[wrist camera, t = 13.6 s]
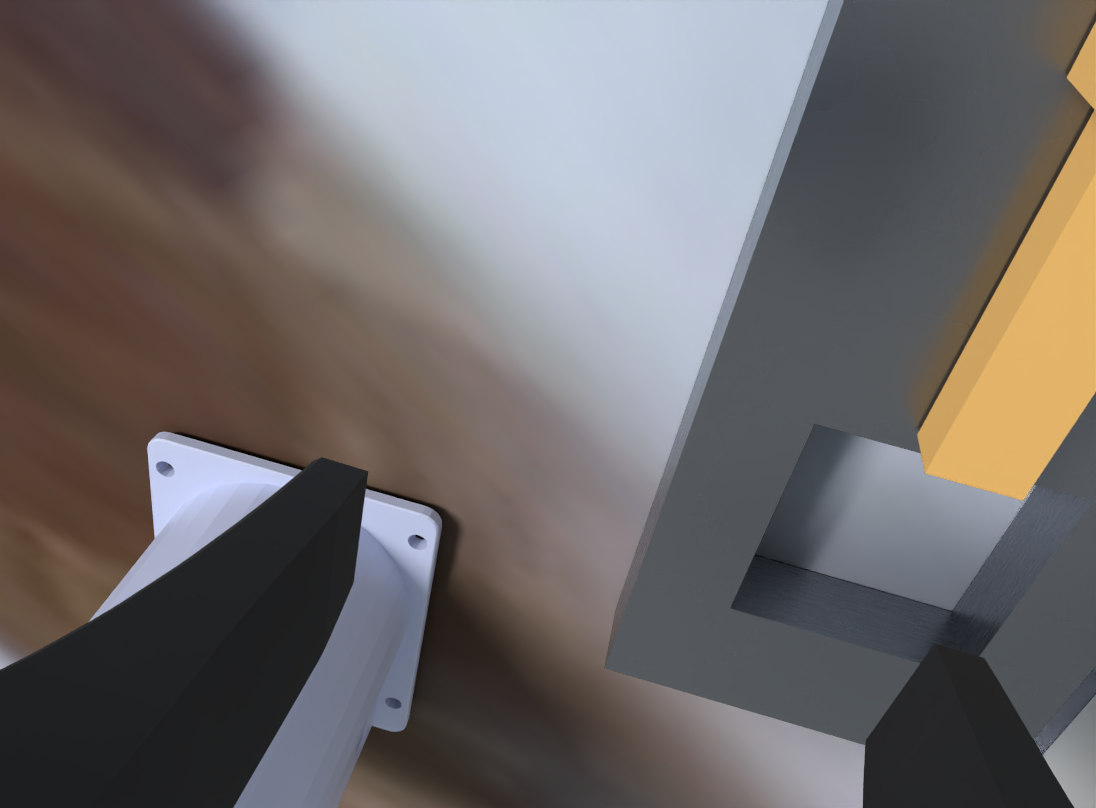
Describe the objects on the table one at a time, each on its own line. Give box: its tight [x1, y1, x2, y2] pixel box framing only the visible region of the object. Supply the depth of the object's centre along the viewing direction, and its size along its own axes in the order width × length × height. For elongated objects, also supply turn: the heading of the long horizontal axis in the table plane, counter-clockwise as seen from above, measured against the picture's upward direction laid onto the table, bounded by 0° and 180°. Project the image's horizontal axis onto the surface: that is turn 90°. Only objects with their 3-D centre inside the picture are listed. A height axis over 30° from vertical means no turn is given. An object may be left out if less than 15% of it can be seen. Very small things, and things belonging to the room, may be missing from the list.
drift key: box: [917, 22, 1096, 500], centre depth 15 cm, size 8×3×2 cm, turn 169°
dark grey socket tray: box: [604, 0, 1096, 745], centre depth 19 cm, size 18×10×2 cm, turn 169°
